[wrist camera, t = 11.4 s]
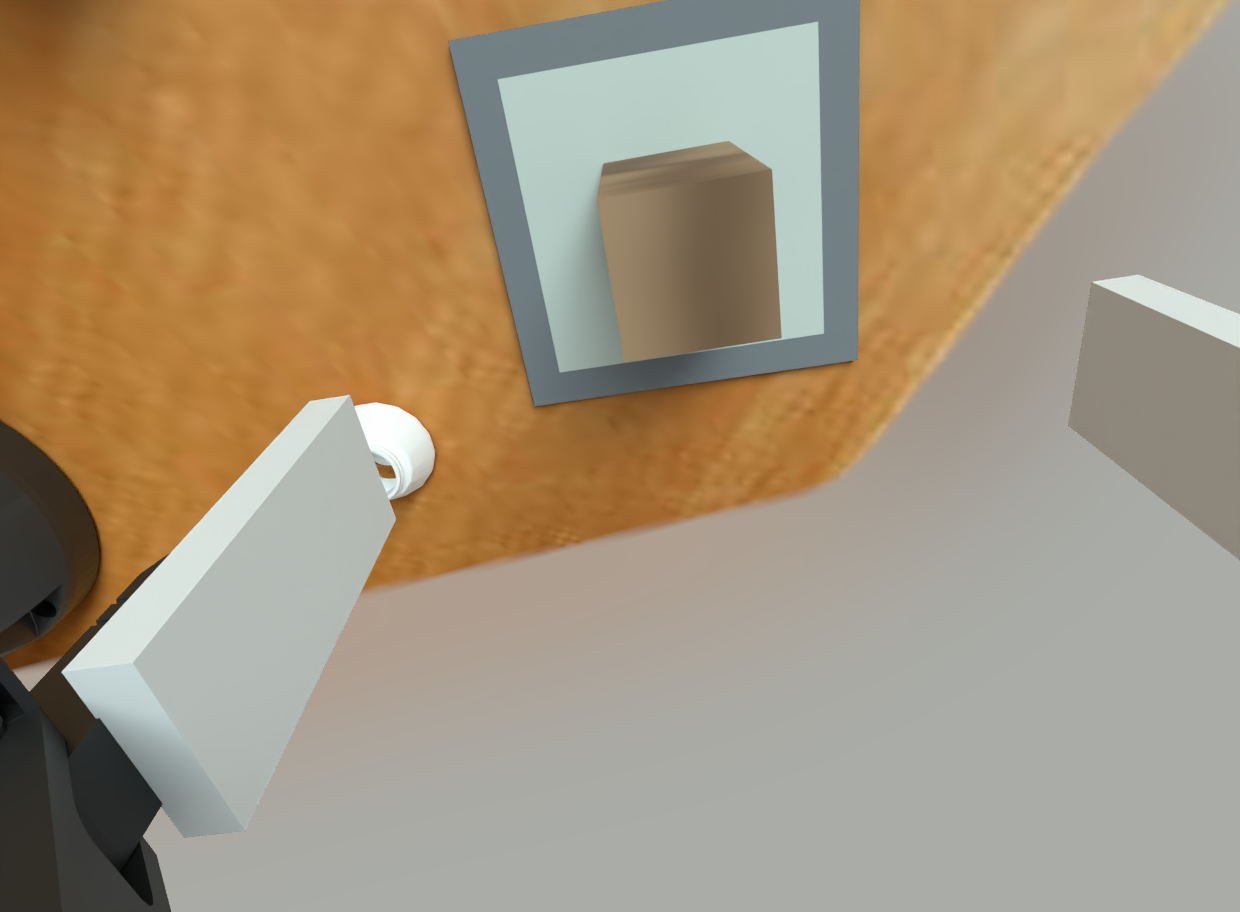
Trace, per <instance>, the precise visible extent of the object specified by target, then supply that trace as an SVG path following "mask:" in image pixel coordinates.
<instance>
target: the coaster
mask: <svg viewBox="0 0 1240 912" xmlns="http://www.w3.org/2000/svg"><path fill="white" fill-rule="evenodd" d="M448 42H449V46H450V50H451V55H452V59H453V63H454V67H455V71H456V76H457V80H458V84H459V88H460V93H461V97H462V101H463V105H464V110H465V114H466V118H467V122H468V127H469V131H470V135H471V139H472V143H473V148H474V152H475V156H476V160H477V165H478V169H479V173H480V177H481V182H482V186H483V190H484V194H485V198H486V203H487V207H488V211H489V215H490V220H491V224H492V228H493V232H494V237H495V241H496V245H497V249H498V254H499V258H500V262H501V266H502V270H503V275H504V279H505V283H506V287H507V292H508V296H509V300H510V304H511V309H512V313H513V317H514V321H515V325H516V330H517V334H518V338H519V342H520V347H521V351H522V355H523V359H524V364H525V368H526V372H527V376H528V381H529V385H530V389H531V393H532V397H533V402H534V406H541V405H548V404H555V403H562V402H569V401H576V400H583V399H590V398H597V397H604V396H610V395H617V394H624V393H631V392H638V391H645V390H652V389H659V388H666V387H673V386H680V385H687V384H694V383H701V382H708V381H715V380H722V379H729V378H736V377H743V376H750V375H756V374H763V373H770V372H777V371H784V370H791V369H798V368H805V367H812V366H819V365H826V364H833V363H840V362H847V361H854V360H858V228H859V48H860V0H667V1H662V2H656V3H651V4H645V5H640V6H635V7H629V8H624V9H618V10H613V11H608V12H602V13H597V14H591V15H586V16H581V17H575V18H570V19H564V20H559V21H554V22H548V23H543V24H537V25H532V26H527V27H521V28H516V29H511V30H505V31H500V32H494V33H489V34H484V35H478V36H473V37H467V38H462V39H457V40H451V41H448ZM726 141H730V142H731V143H733V144H734V145H736V146H737V147H739V148H740V149H742V150H743V151H745V152H746V153H748V154H749V155H751V156H752V157H754V158H755V159H757V160H758V161H760V162H761V163H763V164H764V165H766V166H767V167H769V168H770V169H772V177H773V194H774V211H775V229H776V246H777V264H778V281H779V299H780V316H781V334H782V338H780V339H773V340H767V341H760V342H754V343H747V344H741V345H735V346H728V347H722V348H715V349H709V350H702V351H696V352H689V353H683V354H676V355H670V356H663V357H657V358H651V359H644V360H638V361H631V362H625V363H624V357H623V351H622V345H621V340H620V334H619V328H618V322H617V316H616V311H615V305H614V299H613V293H612V287H611V282H610V276H609V270H608V264H607V258H606V253H605V247H604V241H603V235H602V229H601V224H600V218H599V212H598V206H597V195H598V189H599V184H600V178H601V173H602V167H603V163H608V162H613V161H619V160H624V159H630V158H636V157H641V156H647V155H652V154H658V153H664V152H669V151H675V150H681V149H686V148H692V147H697V146H703V145H709V144H714V143H720V142H726Z"/></svg>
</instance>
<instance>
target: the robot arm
mask: <svg viewBox="0 0 1240 912" xmlns="http://www.w3.org/2000/svg"><path fill="white" fill-rule="evenodd" d="M1068 426H1069V427H1070V428H1072V429H1073V430H1074V431H1076V432H1077V433H1078V434H1079V435H1081V436H1082V437H1083V438H1085V439H1086V440H1087V441H1088V442H1090V443H1091V444H1092V445H1093V446H1095V447H1096V448H1097V449H1099V450H1100V451H1101V452H1102V453H1104V454H1105V455H1106V456H1107V457H1109V458H1110V459H1111V460H1113V461H1114V462H1115V463H1116V464H1118V465H1119V466H1120V467H1121V468H1123V469H1124V470H1125V471H1127V472H1128V473H1129V474H1130V475H1132V476H1133V477H1134V478H1135V479H1137V480H1138V481H1139V482H1141V483H1142V484H1143V485H1144V486H1146V487H1147V488H1148V489H1150V490H1151V491H1152V492H1153V493H1155V494H1156V495H1157V496H1158V497H1160V498H1161V499H1162V500H1164V501H1165V502H1166V503H1167V504H1169V505H1170V506H1171V507H1172V508H1174V509H1175V510H1176V511H1178V512H1179V513H1180V514H1181V515H1183V516H1184V517H1186V519H1188V520H1189V521H1190V522H1192V523H1193V524H1194V525H1195V526H1197V527H1198V528H1199V529H1200V530H1202V531H1203V532H1204V533H1206V534H1207V535H1208V536H1209V537H1211V538H1212V539H1213V540H1214V541H1216V542H1217V543H1218V544H1220V545H1221V546H1222V547H1223V548H1225V549H1226V550H1227V551H1229V552H1230V553H1231V554H1232V555H1234V556H1235V557H1236V558H1237V559H1239V560H1240V314H1237V313H1235V312H1232V311H1229V310H1227V309H1224V308H1222V307H1219V306H1217V305H1214V304H1212V303H1209V302H1206V301H1204V300H1201V299H1199V298H1196V297H1194V296H1191V295H1188V294H1186V293H1184V292H1181V291H1178V290H1176V289H1173V288H1171V287H1168V286H1166V285H1163V284H1161V283H1158V282H1155V281H1153V280H1150V279H1148V278H1145V277H1143V276H1140V275H1134V276H1128V277H1121V278H1114V279H1108V280H1101V281H1095V282H1092V283H1091V289H1090V295H1089V301H1088V307H1087V314H1086V320H1085V326H1084V332H1083V338H1082V344H1081V351H1080V356H1079V362H1078V368H1077V374H1076V381H1075V386H1074V393H1073V399H1072V405H1071V411H1070V417H1069V423H1068ZM395 521H396V517H395V515H394V512H393V509H392V507H391V504H390V501H389V499H388V496H387V493H386V491H385V488H384V485H383V483H382V480H381V477H380V475H379V472H378V469H377V466H376V464H375V461H374V458H373V456H372V453H371V450H370V448H369V445H368V442H367V440H366V437H365V434H364V432H363V429H362V426H361V424H360V421H359V418H358V416H357V413H356V410H355V408H354V405H353V402H352V400H351V397H350V395H347V396H341V397H334V398H328V399H321V400H315V401H309V403H308V404H307V405H306V406H305V407H304V408H303V409H302V410H301V411H300V412H299V413H298V415H297V416H296V417H295V418H294V419H293V420H292V421H291V422H290V423H289V424H288V425H287V427H286V428H285V429H284V430H283V431H282V432H281V433H280V434H279V435H278V436H277V437H276V439H275V440H274V441H273V442H272V443H271V444H270V445H269V446H268V447H267V448H266V449H265V451H264V452H263V453H262V454H261V455H260V456H259V457H258V458H257V459H256V460H255V461H254V463H253V464H252V465H251V466H250V467H249V468H248V469H247V470H246V471H245V472H244V473H243V475H242V476H241V477H240V478H239V479H238V480H237V481H236V482H235V483H234V484H233V485H232V487H231V488H230V489H229V490H228V491H227V492H226V493H225V494H224V495H223V496H222V497H221V499H220V500H219V501H218V502H217V503H216V504H215V505H214V506H213V507H212V508H211V509H210V511H209V512H208V513H207V514H206V515H205V516H204V517H203V518H202V519H201V520H200V521H199V523H198V524H197V525H196V526H195V527H194V528H193V529H192V530H191V531H190V532H189V533H188V535H187V536H186V537H185V538H184V539H183V540H182V541H181V542H180V543H179V544H178V545H177V547H176V548H175V549H174V550H173V551H172V552H171V553H169V554H168V555H166V556H165V557H164V558H162V559H161V560H159V561H158V562H157V563H155V564H154V565H152V566H151V567H149V568H148V569H147V570H145V571H144V572H142V573H141V574H140V575H139V576H138V577H137V578H136V579H135V580H134V581H133V582H132V583H131V584H130V585H129V586H128V587H127V589H126V590H125V591H124V592H123V593H122V594H121V595H120V596H119V597H118V598H117V599H116V600H117V604H112V605H111V606H110V607H109V608H108V609H107V610H106V611H105V612H104V613H103V614H102V615H101V616H100V617H99V618H98V619H97V620H96V622H97V625H96V626H91V627H90V628H89V629H88V630H87V631H86V632H85V633H84V634H83V635H82V636H81V638H80V639H79V640H78V641H77V642H76V643H75V644H74V645H73V646H72V647H71V648H70V649H69V650H68V651H67V652H66V654H65V655H64V656H63V657H62V658H61V659H60V660H59V661H58V662H57V663H56V664H55V665H54V666H53V667H52V668H51V669H50V671H49V672H48V673H47V674H46V675H45V676H44V677H43V678H42V679H41V680H40V681H39V682H38V683H37V684H36V686H35V687H34V688H33V689H32V690H31V691H30V692H29V691H28V690H27V689H26V688H25V686H24V685H23V684H22V683H21V681H20V680H19V679H18V677H17V676H16V675H15V674H14V672H13V671H12V670H11V669H10V667H9V666H8V665H7V663H6V662H5V661H4V660H3V658H4V657H6V656H8V655H10V654H12V653H13V652H15V651H17V650H19V649H21V648H23V647H25V646H27V645H29V644H31V643H33V642H35V641H37V640H38V639H40V638H42V637H43V636H44V635H46V634H47V633H49V632H50V631H51V630H53V629H54V628H55V627H56V626H57V625H58V624H59V623H60V622H61V621H62V620H63V619H64V618H65V617H66V616H67V615H68V614H69V613H70V612H71V611H72V610H73V609H74V608H76V607H77V606H78V605H79V604H80V603H81V602H82V601H83V600H84V598H85V597H86V596H87V595H88V593H89V591H90V590H91V588H92V586H93V584H94V582H95V579H96V576H97V572H98V567H99V546H98V540H97V535H96V531H95V528H94V525H93V522H92V520H91V517H90V515H89V513H88V511H87V509H86V507H85V505H84V503H83V502H82V500H81V498H80V496H79V495H78V493H77V492H76V490H75V489H74V488H73V486H72V485H71V484H70V482H69V481H68V480H67V478H66V477H65V476H64V475H63V474H62V472H61V471H60V470H59V469H58V468H57V467H56V466H55V465H54V464H53V463H52V462H51V461H50V460H49V459H48V458H47V457H46V456H45V455H44V454H43V453H42V452H41V451H40V450H38V449H37V448H36V447H35V446H34V445H33V444H31V443H30V442H29V441H28V440H26V439H25V438H24V437H22V436H21V435H20V434H18V433H17V432H15V431H14V430H13V429H11V428H10V427H8V426H7V425H5V424H3V423H2V422H0V912H171V909H170V906H169V902H168V898H167V894H166V890H165V886H164V883H163V878H162V874H161V871H160V867H159V863H158V859H157V855H156V854H155V852H154V851H153V850H152V848H151V847H150V845H148V843H147V842H146V840H145V839H144V838H143V834H144V833H145V831H146V830H147V828H148V827H149V825H150V823H151V822H152V820H153V818H154V817H155V815H156V813H157V812H158V810H159V809H160V807H162V808H163V810H164V811H165V812H166V814H167V815H168V817H169V818H170V819H171V821H172V822H173V823H174V825H175V826H176V827H177V829H178V830H179V831H180V833H181V834H182V835H183V837H184V838H187V837H196V836H205V835H214V834H224V833H232V832H242V831H245V830H246V828H247V826H248V824H249V822H250V820H251V818H252V816H253V814H254V812H255V810H256V807H257V805H258V803H259V801H260V799H261V797H262V795H263V793H264V791H265V789H266V787H267V785H268V783H269V780H270V779H271V777H272V774H273V772H274V770H275V768H276V766H277V764H278V762H279V760H280V758H281V756H282V754H283V752H284V750H285V748H286V746H287V743H288V741H289V739H290V737H291V735H292V733H293V731H294V729H295V727H296V725H297V723H298V721H299V719H300V717H301V715H302V712H303V710H304V708H305V706H306V704H307V702H308V700H309V698H310V696H311V694H312V692H313V690H314V688H315V686H316V684H317V682H318V680H319V677H320V675H321V673H322V671H323V669H324V667H325V665H326V663H327V661H328V659H329V657H330V655H331V653H332V651H333V649H334V646H335V644H336V642H337V640H338V638H339V636H340V634H341V632H342V630H343V628H344V626H345V624H346V622H347V620H348V618H349V616H350V613H351V611H352V609H353V607H354V605H355V603H356V601H357V599H358V597H359V595H360V593H361V591H362V589H363V587H364V585H365V583H366V580H367V578H368V576H369V574H370V572H371V570H372V568H373V566H374V564H375V562H376V560H377V558H378V556H379V554H380V552H381V549H382V547H383V545H384V543H385V541H386V539H387V537H388V535H389V533H390V531H391V529H392V527H393V525H394V523H395Z"/></svg>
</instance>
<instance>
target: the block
mask: <svg viewBox="0 0 1240 912" xmlns="http://www.w3.org/2000/svg"><path fill="white" fill-rule="evenodd" d="M597 206H598V212H599V218H600V224H601V229H602V235H603V241H604V247H605V253H606V258H607V264H608V270H609V276H610V282H611V287H612V293H613V299H614V305H615V311H616V316H617V322H618V328H619V334H620V340H621V345H622V351H623V357H624V363H625V362H631V361H638V360H644V359H651V358H657V357H663V356H670V355H676V354H683V353H689V352H696V351H702V350H709V349H715V348H722V347H728V346H735V345H741V344H747V343H754V342H760V341H767V340H773V339H780V338H782V334H781V316H780V299H779V281H778V264H777V246H776V229H775V211H774V194H773V177H772V169H770V168H769V167H767V166H766V165H764V164H763V163H761V162H760V161H758V160H757V159H755V158H754V157H752V156H751V155H749V154H748V153H746V152H745V151H743V150H742V149H740V148H739V147H737V146H736V145H734V144H733V143H731V142H730V141H726V142H720V143H714V144H709V145H703V146H697V147H692V148H686V149H681V150H675V151H669V152H664V153H658V154H652V155H647V156H641V157H636V158H630V159H624V160H619V161H613V162H608V163H603V167H602V173H601V178H600V184H599V189H598V195H597Z"/></svg>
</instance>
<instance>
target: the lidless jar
mask: <svg viewBox="0 0 1240 912" xmlns="http://www.w3.org/2000/svg"><path fill="white" fill-rule="evenodd" d="M354 408H355V410H356V413H357V416H358V418H359V421H360V424H361V426H362V429H363V432H364V434H365V437H366V440H367V442H368V445H369V448H370V450H371V453H372V456H373V458H374V461H375V462H377V463H379V464H382V465H391V466H392V467H393V469H394V472H395V475H396V478H393V479H386V478H381V480H382V483H383V485H384V488H385V491H386V493H387V496H388V499H389V500H393V499H396V498H399V497H402V496H406V495H408V494H409V493H411V492H413V491H415V490H416V489H418V488H420V487H422V486H423V484H424V483H425V481H426V480H427V478H428V477H429V475H430V474H431V472H432V470H433V467H434V458H435V449H434V446H433V443H432V440H431V437H430V434H429V433H428V431H427V430H426V429H425V428H424V427H423V425H422V424H421V423H420V422H419V421H418V419H417V418H416V417H414V416H412V415H410V414H409V413H407V412H405V411H404V410H402V409H400V408H399V407H396V406H391V405H386V404H381V403H377V402H375V403H369V404H362V405H356V406H354Z"/></svg>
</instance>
